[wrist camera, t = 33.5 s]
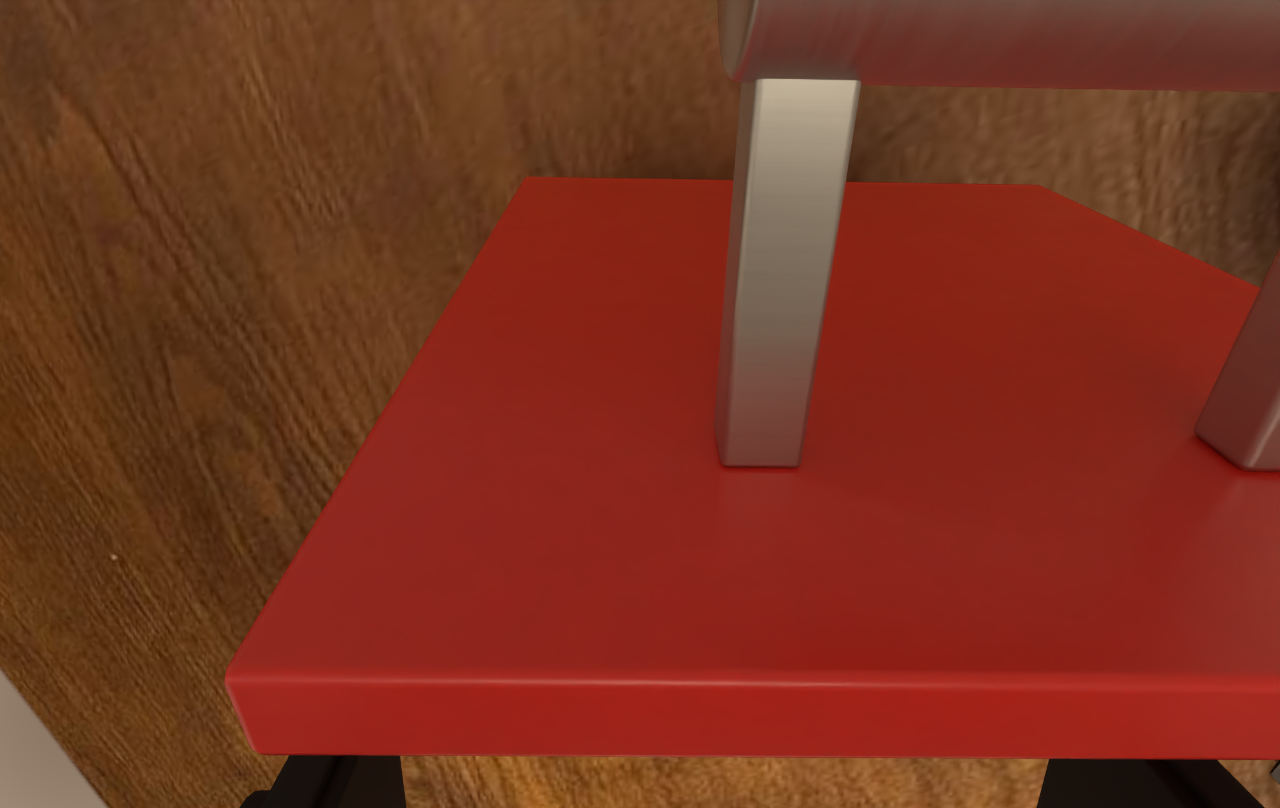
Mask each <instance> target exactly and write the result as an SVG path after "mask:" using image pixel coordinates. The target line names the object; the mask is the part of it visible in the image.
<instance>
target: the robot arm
mask: <svg viewBox="0 0 1280 808" xmlns="http://www.w3.org/2000/svg"><path fill="white" fill-rule="evenodd" d="M240 808H406V801H405V793H404V785H403V777H402V769H401V760H400V756H369V755H289V757H288V759H287V761H286V762H285V764H284V766H283V768H282V770H281V772H280V773H279V775H278V777H277V779H276V781H275V782H274V784H273V786H272V788H271V790H261V791H254V792H253V793H252V794H251V795H249V796H248V797H247V798H246V799H245V801H244V802H243V804H242V805H241V806H240ZM1037 808H1264V807H1263V806H1262V805H1261V804H1260V803H1259V802H1258V801H1257V800H1256V799H1255V798H1254V797H1253V796H1252V795H1251V794H1250V793H1249V792H1248V791H1247V790H1246V789H1245V788H1244V787H1243V786H1242V785H1241V784H1240V783H1239V782H1238V781H1237V780H1236V779H1235V778H1234V777H1233V776H1232V775H1231V774H1230V773H1229V772H1228V771H1227V770H1226V769H1225V768H1224V767H1223V766H1222V765H1221V764H1220V763H1219V762H1218V761H1217V760H1182V759H1049V762H1048V766H1047V770H1046V774H1045V777H1044V781H1043V785H1042V789H1041V793H1040V797H1039V800H1038V804H1037Z"/></svg>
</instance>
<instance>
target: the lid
mask: <svg viewBox="0 0 1280 808" xmlns="http://www.w3.org/2000/svg"><path fill="white" fill-rule="evenodd" d="M718 29H719V42H720V52H721V57H722V62H723V65H724V69H725V72H726V75H727V76H728V78H729V79H731V80H733V81H735V82H738V83H741V94H740V106H739V118H738V131H737V143H736V155H735V168H734V180H702V179H640V178H578V177H526V178H524V180H523V182H522V183H521V185H520V187H519V188H518V190H517V192H516V193H515V195H514V197H513V198H512V200H511V201H510V203H509V205H508V206H507V208H506V210H505V211H504V213H503V215H502V216H501V218H500V220H499V221H498V223H497V224H496V226H495V228H494V229H493V231H492V233H491V234H490V236H489V238H488V239H487V241H486V243H485V244H484V246H483V247H482V249H481V251H480V252H479V254H478V256H477V257H476V259H475V261H474V262H473V264H472V266H471V267H470V269H469V271H468V272H467V274H466V275H465V277H464V279H463V280H462V282H461V284H460V285H459V287H458V289H457V290H456V292H455V294H454V295H453V297H452V298H451V300H450V302H449V303H448V305H447V307H446V308H445V310H444V312H443V313H442V315H441V317H440V318H439V320H438V321H437V323H436V325H435V326H434V328H433V330H432V331H431V333H430V335H429V336H428V338H427V340H426V341H425V343H424V344H423V346H422V348H421V349H420V351H419V353H418V354H417V356H416V358H415V359H414V361H413V363H412V364H411V366H410V368H409V369H408V371H407V372H406V374H405V376H404V377H403V379H402V381H401V382H400V384H399V386H398V387H397V389H396V391H395V392H394V394H393V395H392V397H391V399H390V400H389V402H388V404H387V405H386V407H385V409H384V410H383V412H382V414H381V415H380V417H379V418H378V420H377V422H376V423H375V425H374V427H373V428H372V430H371V432H370V433H369V435H368V437H367V438H366V440H365V441H364V443H363V445H362V446H361V448H360V450H359V451H358V453H357V455H356V456H355V458H354V460H353V461H352V463H351V465H350V466H349V468H348V469H347V471H346V473H345V474H344V476H343V478H342V479H341V481H340V483H339V484H338V486H337V488H336V489H335V491H334V492H333V494H332V496H331V497H330V499H329V501H328V502H327V504H326V506H325V507H324V509H323V511H322V512H321V514H320V515H319V517H318V519H317V520H316V522H315V524H314V525H313V527H312V529H311V530H310V532H309V534H308V535H307V537H306V538H305V540H304V542H303V543H302V545H301V547H300V548H299V550H298V552H297V553H296V555H295V557H294V558H293V560H292V562H291V563H290V565H289V566H288V568H287V570H286V571H285V573H284V575H283V576H282V578H281V580H280V581H279V583H278V585H277V586H276V588H275V589H274V591H273V593H272V594H271V596H270V598H269V599H268V601H267V603H266V604H265V606H264V608H263V609H262V611H261V612H260V614H259V616H258V617H257V619H256V621H255V622H254V624H253V626H252V627H251V629H250V631H249V632H248V634H247V635H246V637H245V639H244V640H243V642H242V644H241V645H240V647H239V649H238V650H237V652H236V654H235V655H234V657H233V659H232V660H231V662H230V663H229V665H228V667H227V670H226V675H225V684H224V685H225V687H226V690H227V692H228V694H229V697H230V699H231V702H232V704H233V707H234V709H235V711H236V714H237V716H238V719H239V721H240V724H241V726H242V728H243V731H244V733H245V736H246V738H247V741H248V743H249V745H250V748H251V749H252V750H254V751H255V752H257V753H260V754H263V755H369V756H572V757H776V758H979V759H1182V760H1280V248H1279V250H1278V252H1277V255H1276V257H1275V259H1274V261H1273V263H1272V265H1271V267H1270V269H1269V271H1268V273H1267V275H1266V277H1265V280H1264V282H1263V284H1262V286H1261V288H1259V287H1257V286H1255V285H1252V284H1250V283H1248V282H1246V281H1244V280H1242V279H1240V278H1237V277H1235V276H1233V275H1231V274H1229V273H1227V272H1225V271H1222V270H1220V269H1218V268H1216V267H1214V266H1212V265H1210V264H1207V263H1205V262H1203V261H1201V260H1199V259H1197V258H1195V257H1192V256H1190V255H1188V254H1186V253H1184V252H1182V251H1179V250H1177V249H1175V248H1173V247H1171V246H1169V245H1167V244H1164V243H1162V242H1160V241H1158V240H1156V239H1154V238H1152V237H1149V236H1147V235H1145V234H1143V233H1141V232H1139V231H1137V230H1134V229H1132V228H1130V227H1128V226H1126V225H1124V224H1122V223H1119V222H1117V221H1115V220H1113V219H1111V218H1109V217H1107V216H1104V215H1102V214H1100V213H1098V212H1096V211H1094V210H1092V209H1089V208H1087V207H1085V206H1083V205H1081V204H1079V203H1077V202H1074V201H1072V200H1070V199H1068V198H1066V197H1064V196H1061V195H1059V194H1057V193H1055V192H1053V191H1051V190H1049V189H1046V188H1044V187H1042V186H1040V185H1010V184H949V183H887V182H846V177H847V171H848V164H849V158H850V152H851V145H852V139H853V133H854V126H855V120H856V114H857V107H858V101H859V95H860V89H861V85H899V86H954V87H1009V88H1064V89H1119V90H1175V91H1230V92H1280V0H718Z"/></svg>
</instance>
